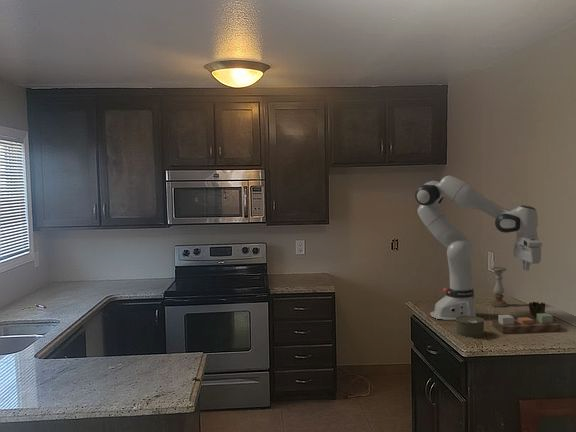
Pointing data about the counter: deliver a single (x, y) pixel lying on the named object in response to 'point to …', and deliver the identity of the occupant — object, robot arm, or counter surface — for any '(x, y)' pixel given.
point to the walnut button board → (526, 327)
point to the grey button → (505, 319)
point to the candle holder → (498, 288)
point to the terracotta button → (525, 320)
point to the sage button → (544, 318)
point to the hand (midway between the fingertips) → (525, 269)
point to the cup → (536, 308)
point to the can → (470, 326)
